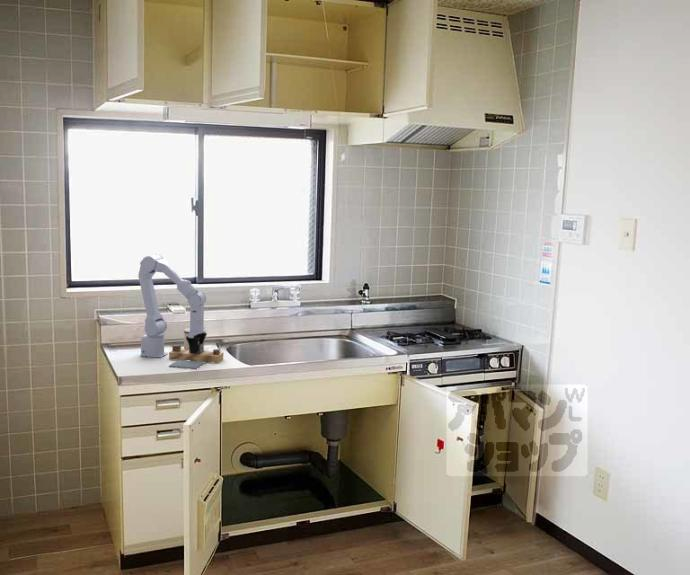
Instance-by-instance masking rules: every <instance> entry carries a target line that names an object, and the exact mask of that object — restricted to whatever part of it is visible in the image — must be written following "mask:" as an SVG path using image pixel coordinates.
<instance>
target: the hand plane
mask: <svg viewBox="0 0 690 575" xmlns="http://www.w3.org/2000/svg"><path fill="white" fill-rule="evenodd" d="M171 348H172V350H171V351H170V352H169V353H168V360H173V359H177V360H184V361H186V360H190V361H196V362H198V361H201V362H205V363H211V362H214V364H219V363H220V362H221V361H223V360H224V352H221V350H220V349H217V348H216V349H213V350H212V351H206V350H204V352H203V353H201V354H193V353H189V350H184V348H183V349H182V346H181V345H180V344H173V345H172V347H171ZM177 360H176V361H177Z"/></svg>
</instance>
